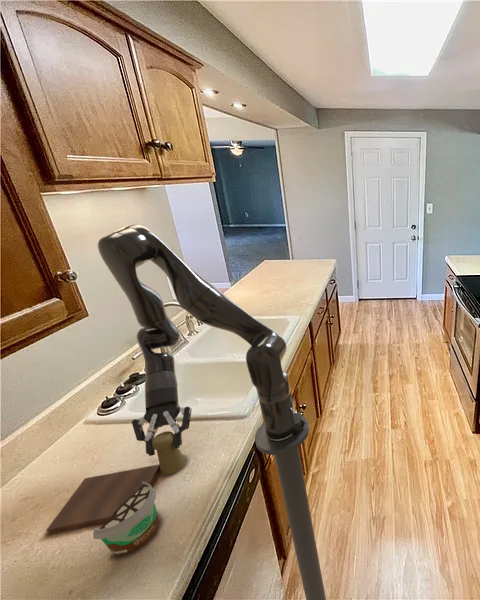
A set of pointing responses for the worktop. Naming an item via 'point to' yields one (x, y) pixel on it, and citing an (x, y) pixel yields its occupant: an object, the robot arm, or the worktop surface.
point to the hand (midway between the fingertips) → (164, 451)
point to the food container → (131, 523)
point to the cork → (168, 453)
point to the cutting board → (101, 498)
